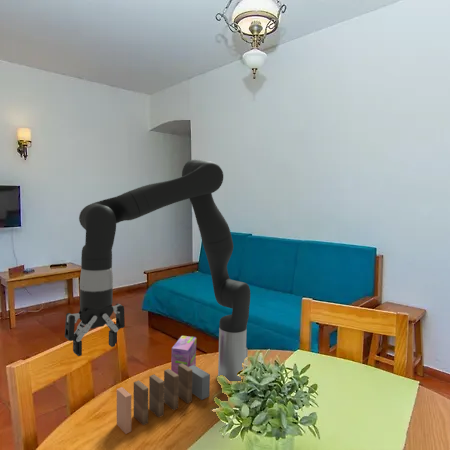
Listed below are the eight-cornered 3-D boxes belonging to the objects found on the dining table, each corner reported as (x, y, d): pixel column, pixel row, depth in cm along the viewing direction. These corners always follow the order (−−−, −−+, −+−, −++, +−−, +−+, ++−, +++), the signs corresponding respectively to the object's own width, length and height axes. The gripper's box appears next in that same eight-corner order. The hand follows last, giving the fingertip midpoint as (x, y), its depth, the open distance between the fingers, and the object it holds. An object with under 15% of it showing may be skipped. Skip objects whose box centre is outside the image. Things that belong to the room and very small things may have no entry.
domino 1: (138, 414, 100) (138, 380, 99) (148, 422, 96) (148, 387, 96) (133, 416, 99) (133, 382, 98) (142, 425, 95) (143, 390, 94)
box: (187, 384, 116) (187, 349, 115) (170, 382, 117) (171, 347, 116) (196, 369, 126) (196, 337, 125) (180, 367, 127) (181, 335, 126)
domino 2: (153, 406, 104) (154, 374, 103) (163, 415, 100) (164, 381, 99) (149, 409, 102) (149, 376, 101) (158, 417, 99) (159, 383, 98)
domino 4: (181, 394, 110) (182, 363, 109) (191, 401, 107) (192, 369, 106) (177, 396, 109) (178, 364, 108) (187, 403, 106) (188, 371, 105)
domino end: (122, 421, 97) (122, 386, 96) (131, 431, 93) (131, 395, 92) (116, 424, 96) (116, 389, 95) (125, 433, 92) (125, 397, 91)
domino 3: (168, 400, 107) (168, 368, 106) (178, 408, 103) (178, 375, 102) (163, 402, 106) (164, 370, 105) (173, 410, 102) (174, 377, 101)
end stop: (193, 385, 115) (193, 364, 115) (209, 396, 110) (209, 374, 109) (185, 388, 113) (186, 367, 113) (201, 399, 108) (202, 377, 107)
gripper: (73, 294, 79) (72, 364, 81) (130, 285, 89) (129, 347, 90) (60, 287, 85) (60, 353, 86) (116, 279, 94) (115, 338, 96)
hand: (95, 350), depth 88 cm, fingers open, 8 cm apart
